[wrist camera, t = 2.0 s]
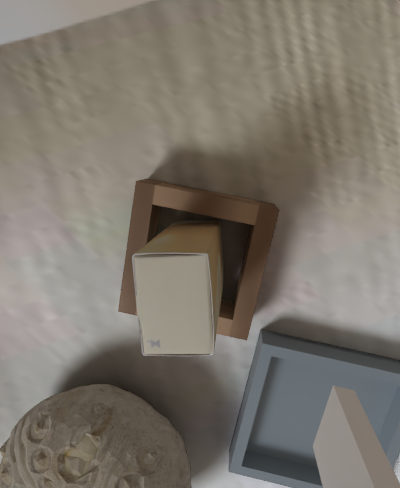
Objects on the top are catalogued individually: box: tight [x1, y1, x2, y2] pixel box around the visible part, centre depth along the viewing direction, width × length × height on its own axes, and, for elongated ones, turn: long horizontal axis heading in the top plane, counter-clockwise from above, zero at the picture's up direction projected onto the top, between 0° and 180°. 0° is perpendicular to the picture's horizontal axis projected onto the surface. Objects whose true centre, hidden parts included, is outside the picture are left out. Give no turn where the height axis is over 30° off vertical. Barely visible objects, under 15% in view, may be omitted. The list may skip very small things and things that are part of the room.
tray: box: [229, 330, 400, 488], centre depth 32 cm, size 14×14×2 cm
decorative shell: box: [0, 384, 191, 488], centre depth 32 cm, size 18×18×10 cm
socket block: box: [118, 179, 279, 340], centre depth 29 cm, size 11×11×4 cm
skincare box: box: [132, 220, 223, 356], centre depth 25 cm, size 6×4×12 cm
